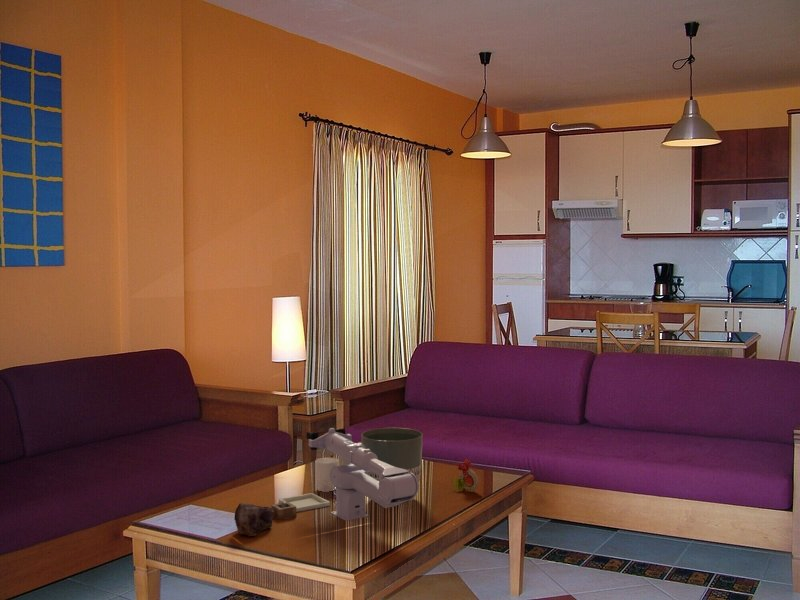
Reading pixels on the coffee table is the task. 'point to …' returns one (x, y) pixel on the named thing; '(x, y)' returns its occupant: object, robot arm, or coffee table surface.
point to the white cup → (325, 473)
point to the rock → (252, 519)
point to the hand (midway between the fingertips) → (318, 433)
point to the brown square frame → (283, 511)
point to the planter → (395, 448)
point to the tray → (306, 502)
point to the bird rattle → (467, 482)
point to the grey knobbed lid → (283, 507)
